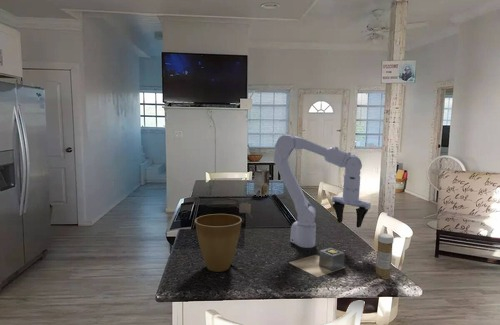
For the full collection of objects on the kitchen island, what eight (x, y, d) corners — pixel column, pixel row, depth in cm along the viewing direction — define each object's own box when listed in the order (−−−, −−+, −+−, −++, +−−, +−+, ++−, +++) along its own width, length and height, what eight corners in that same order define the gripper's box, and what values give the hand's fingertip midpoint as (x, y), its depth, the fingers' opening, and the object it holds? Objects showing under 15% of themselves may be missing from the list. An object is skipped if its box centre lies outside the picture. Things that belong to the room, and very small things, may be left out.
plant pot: (237, 257, 122) (239, 213, 120) (243, 276, 108) (244, 225, 106) (194, 258, 120) (195, 213, 118) (194, 278, 105) (194, 226, 104)
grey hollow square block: (318, 265, 115) (319, 250, 114) (330, 261, 118) (331, 247, 118) (332, 271, 110) (333, 256, 110) (343, 267, 114) (344, 252, 113)
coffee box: (261, 193, 232) (261, 169, 230) (269, 194, 228) (270, 170, 226) (253, 195, 224) (253, 170, 223) (261, 197, 221) (262, 171, 219)
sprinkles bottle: (378, 272, 113) (381, 231, 112) (392, 276, 110) (396, 235, 109) (372, 276, 110) (375, 235, 108) (387, 281, 107) (390, 238, 105)
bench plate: (288, 265, 117) (288, 262, 117) (315, 257, 124) (315, 254, 124) (317, 280, 106) (317, 277, 106) (345, 270, 114) (345, 267, 114)
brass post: (326, 268, 115) (327, 251, 114) (331, 267, 116) (332, 249, 115) (332, 271, 113) (333, 253, 112) (337, 269, 114) (338, 252, 114)
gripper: (328, 186, 130) (326, 222, 132) (365, 193, 120) (362, 231, 122) (338, 184, 135) (336, 218, 137) (374, 190, 125) (371, 227, 127)
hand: (349, 224), depth 130 cm, fingers open, 7 cm apart
